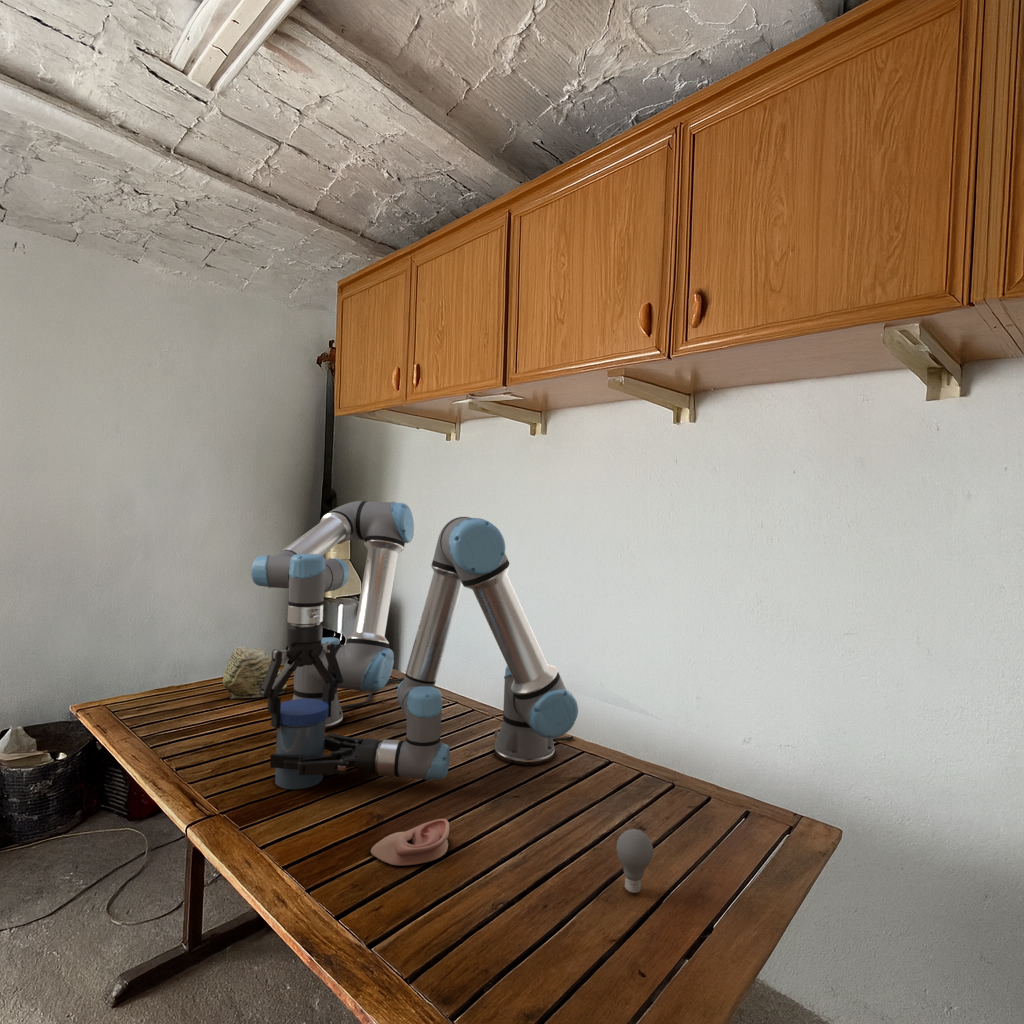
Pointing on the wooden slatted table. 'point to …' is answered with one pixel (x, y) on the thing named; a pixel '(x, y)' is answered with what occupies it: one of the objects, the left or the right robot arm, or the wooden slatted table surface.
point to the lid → (303, 712)
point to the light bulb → (634, 857)
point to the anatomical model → (414, 844)
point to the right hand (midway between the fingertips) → (282, 750)
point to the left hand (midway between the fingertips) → (301, 721)
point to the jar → (299, 752)
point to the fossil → (247, 672)
